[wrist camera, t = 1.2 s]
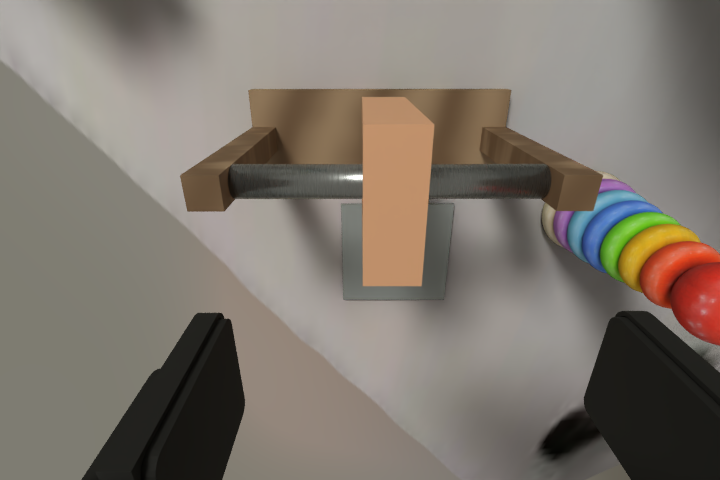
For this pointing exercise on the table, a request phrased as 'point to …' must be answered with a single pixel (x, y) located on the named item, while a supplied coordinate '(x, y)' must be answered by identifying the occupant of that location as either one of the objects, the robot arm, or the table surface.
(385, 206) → the tall peach block
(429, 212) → the mat
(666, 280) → the stacking toy
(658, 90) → the table surface
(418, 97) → the rack
